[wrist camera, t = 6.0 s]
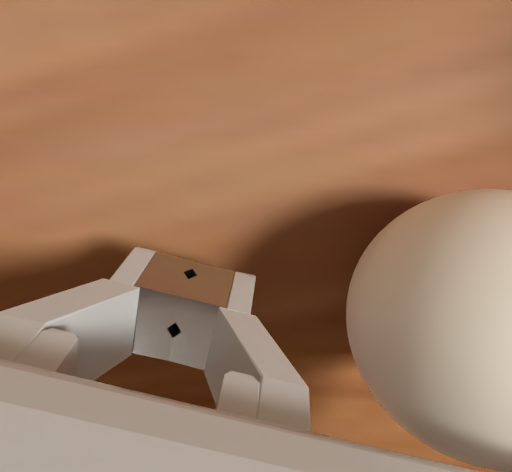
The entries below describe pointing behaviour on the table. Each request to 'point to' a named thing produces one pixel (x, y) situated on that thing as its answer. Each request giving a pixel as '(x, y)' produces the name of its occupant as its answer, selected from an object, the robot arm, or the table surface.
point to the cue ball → (441, 324)
